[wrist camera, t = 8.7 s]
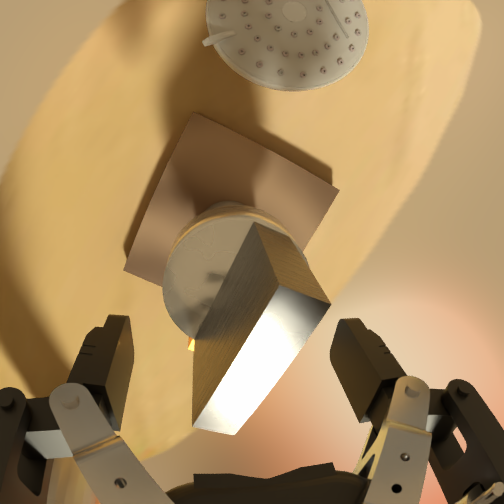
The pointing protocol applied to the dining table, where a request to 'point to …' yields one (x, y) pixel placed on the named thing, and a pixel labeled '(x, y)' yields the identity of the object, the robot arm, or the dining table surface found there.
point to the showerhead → (288, 40)
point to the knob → (239, 308)
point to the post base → (224, 192)
